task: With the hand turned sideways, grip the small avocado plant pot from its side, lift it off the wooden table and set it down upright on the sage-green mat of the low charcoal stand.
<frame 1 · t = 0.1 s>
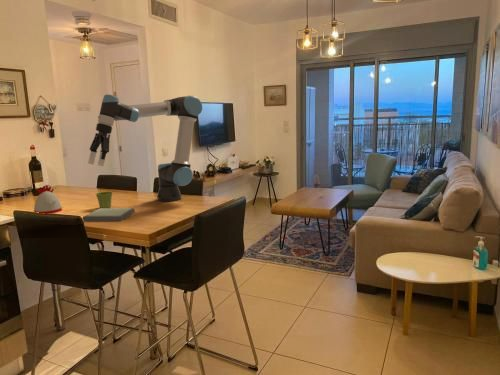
hand: (95, 164, 190), 28 cm above the table, tool tilted 20°, fingers open, 13 cm apart
grey dome: (48, 211, 212), on the table
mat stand: (109, 216, 196), on the table
plant pot: (105, 207, 217), on the table
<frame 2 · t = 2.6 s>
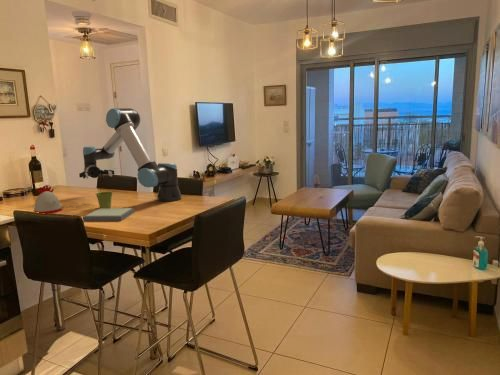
hand: (99, 175, 222), 18 cm above the table, tool horizontal, fingers open, 13 cm apart
nothing on the table moved.
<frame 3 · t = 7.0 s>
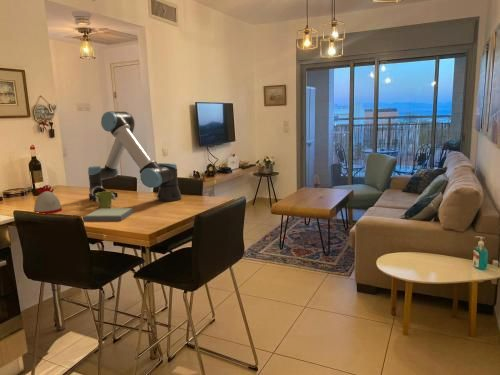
hand: (106, 198, 212), 6 cm above the table, tool horizontal, fingers closed on plant pot, 8 cm apart
plant pot: (105, 207, 217), on the table, touching gripper
everything else where it was.
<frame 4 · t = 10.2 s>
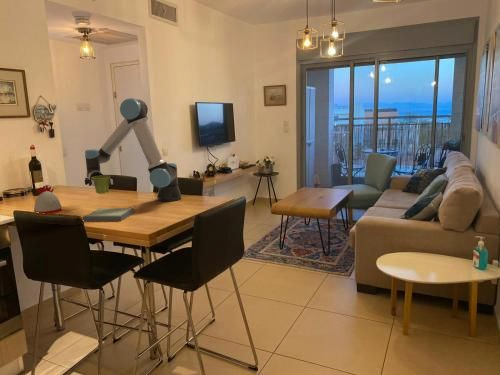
hand: (102, 182, 195), 18 cm above the table, tool horizontal, fingers closed on plant pot, 8 cm apart
plant pot: (102, 193, 200), point 12 cm above the table, touching gripper
everything else where it was.
when the fingers open (10 cm above the table, at t = 13.3 s): plant pot moves 3 cm, resting on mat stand.
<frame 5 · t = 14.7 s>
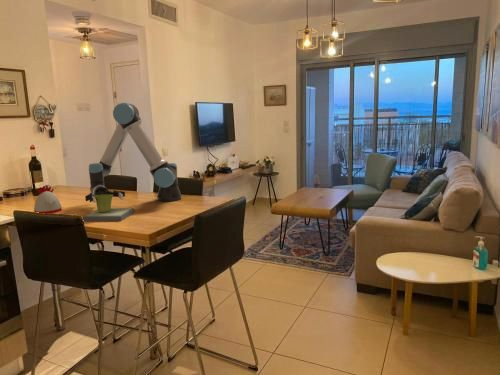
hand: (108, 198, 193), 10 cm above the table, tool horizontal, fingers open, 13 cm apart
plant pot: (104, 211, 195), point 3 cm above the table, touching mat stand
everything else where it was.
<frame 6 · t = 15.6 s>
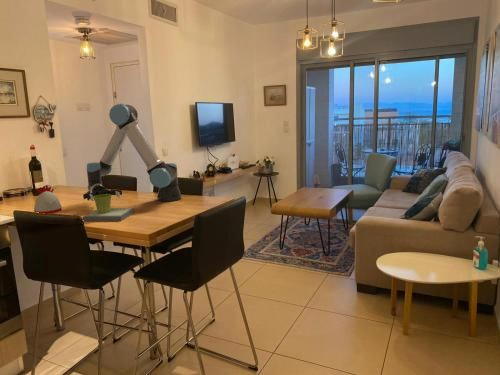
hand: (106, 196, 198), 10 cm above the table, tool horizontal, fingers open, 13 cm apart
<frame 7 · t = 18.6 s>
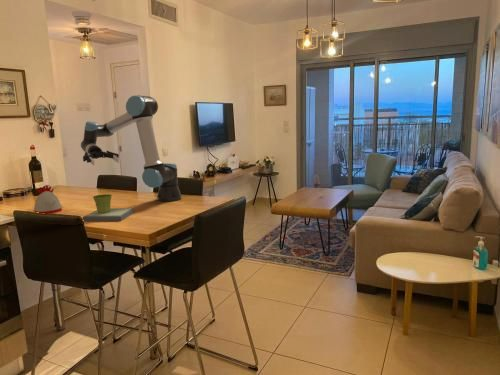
hand: (106, 161, 210), 27 cm above the table, tool horizontal, fingers open, 13 cm apart
nothing on the table moved.
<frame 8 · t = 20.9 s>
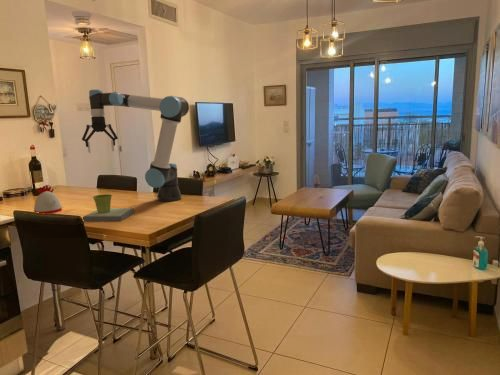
hand: (101, 151, 226), 32 cm above the table, tool pointing down, fingers open, 13 cm apart
nothing on the table moved.
at the end: plant pot inside the target area on the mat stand (2.7 cm from its centre), point 2.4 cm above the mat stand's base; plant pot tilted 0°; the gripper is holding nothing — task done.
